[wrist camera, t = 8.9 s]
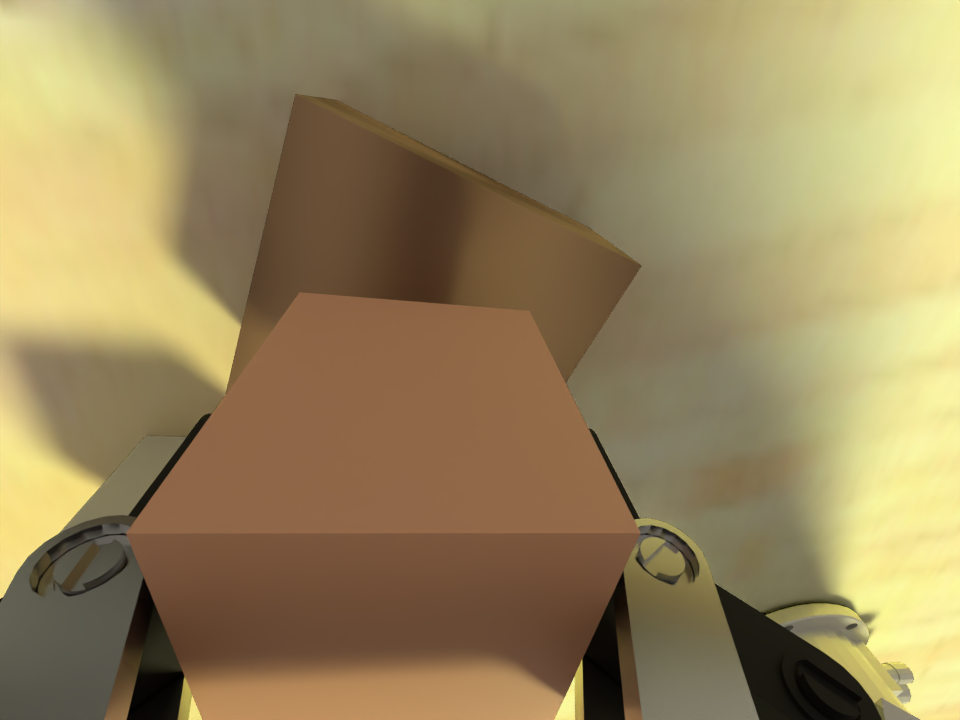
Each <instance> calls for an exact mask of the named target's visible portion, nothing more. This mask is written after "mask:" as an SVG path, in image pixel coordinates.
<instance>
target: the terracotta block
mask: <svg viewBox="0 0 960 720" xmlns="http://www.w3.org/2000/svg"><path fill="white" fill-rule="evenodd" d="M640 534H641V532H640V530H639V528H638V526H637V524H636V522H635V520H634V518H633V516H632V514H631V513H630V511H629V509H628V507H627V505H626V503H625V501H624V499H623V497H622V495H621V493H620V491H619V489H618V487H617V485H616V483H615V481H614V479H613V477H612V475H611V473H610V471H609V469H608V467H607V465H606V463H605V461H604V459H603V457H602V455H601V453H600V451H599V449H598V447H597V445H596V443H595V441H594V439H593V437H592V435H591V433H590V431H589V429H588V427H587V425H586V423H585V421H584V419H583V417H582V415H581V413H580V411H579V409H578V407H577V405H576V403H575V401H574V399H573V397H572V395H571V393H570V391H569V389H568V387H567V385H566V383H565V381H564V379H563V377H562V375H561V373H560V371H559V369H558V367H557V365H556V363H555V361H554V359H553V357H552V355H551V353H550V351H549V349H548V347H547V345H546V343H545V341H544V339H543V337H542V335H541V333H540V331H539V329H538V327H537V325H536V323H535V321H534V319H533V317H532V315H531V313H530V311H526V310H513V309H501V308H488V307H476V306H464V305H451V304H439V303H426V302H414V301H401V300H389V299H376V298H364V297H351V296H339V295H327V294H314V293H302V292H299V294H298V295H297V297H296V298H295V299H294V301H293V302H292V304H291V305H290V306H289V308H288V309H287V311H286V312H285V313H284V315H283V316H282V317H281V319H280V320H279V322H278V323H277V324H276V326H275V327H274V329H273V330H272V331H271V333H270V334H269V336H268V337H267V338H266V340H265V341H264V342H263V344H262V345H261V347H260V348H259V349H258V351H257V352H256V354H255V355H254V356H253V358H252V359H251V360H250V362H249V363H248V365H247V366H246V367H245V369H244V370H243V372H242V373H241V374H240V376H239V377H238V379H237V380H236V381H235V383H234V384H233V385H232V387H231V388H230V390H229V391H228V392H227V394H226V395H225V397H224V398H223V399H222V401H221V402H220V404H219V405H218V406H217V408H216V409H215V410H214V412H213V413H212V415H211V416H210V417H209V419H208V420H207V422H206V423H205V424H204V426H203V427H202V429H201V430H200V431H199V433H198V434H197V435H196V437H195V438H194V440H193V441H192V442H191V444H190V445H189V447H188V448H187V449H186V451H185V452H184V453H183V455H182V456H181V458H180V459H179V460H178V462H177V463H176V465H175V466H174V467H173V469H172V470H171V472H170V473H169V474H168V476H167V477H166V478H165V480H164V481H163V483H162V484H161V485H160V487H159V488H158V490H157V491H156V492H155V494H154V495H153V497H152V498H151V499H150V501H149V502H148V503H147V505H146V506H145V508H144V509H143V510H142V512H141V513H140V515H139V516H138V517H137V519H136V520H135V522H134V523H133V524H132V526H131V527H130V528H129V530H128V531H127V533H126V535H127V538H128V540H129V542H130V545H131V547H132V550H133V552H134V555H135V557H136V559H137V562H138V564H139V567H140V569H141V572H142V574H143V576H144V579H145V581H146V584H147V586H148V589H149V591H150V593H151V596H152V598H153V601H154V603H155V606H156V608H157V610H158V613H159V615H160V618H161V620H162V622H163V625H164V627H165V630H166V632H167V635H168V637H169V639H170V642H171V644H172V647H173V649H174V652H175V654H176V656H177V659H178V661H179V664H180V666H181V669H182V671H183V673H184V676H185V678H186V681H187V683H188V686H189V688H190V690H191V693H192V695H193V698H194V700H195V703H196V705H197V707H198V710H199V712H200V715H201V717H202V720H554V719H555V717H556V715H557V712H558V710H559V708H560V706H561V704H562V702H563V700H564V697H565V695H566V693H567V691H568V689H569V687H570V684H571V682H572V680H573V678H574V676H575V674H576V672H577V669H578V667H579V665H580V663H581V661H582V659H583V657H584V654H585V652H586V650H587V648H588V646H589V644H590V641H591V639H592V637H593V635H594V633H595V631H596V629H597V626H598V624H599V622H600V620H601V618H602V616H603V613H604V611H605V609H606V607H607V605H608V603H609V601H610V598H611V596H612V594H613V592H614V590H615V588H616V585H617V583H618V581H619V579H620V577H621V575H622V573H623V570H624V568H625V566H626V564H627V562H628V560H629V557H630V555H631V553H632V551H633V549H634V547H635V545H636V542H637V540H638V538H639V536H640Z"/></svg>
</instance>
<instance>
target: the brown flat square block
mask: <svg viewBox="0 0 960 720" xmlns="http://www.w3.org/2000/svg"><path fill="white" fill-rule="evenodd" d="M640 268H641V265H640V264H639V263H637V262H636V261H634V260H633V259H632V258H630V257H629V256H628V255H626V254H625V253H623V252H622V251H621V250H619V249H618V248H616V247H615V246H614V245H612V244H611V243H610V242H608V241H607V240H605V239H604V238H603V237H601V236H600V235H599V234H597V233H596V232H594V231H593V230H592V229H590V228H588V227H586V226H584V225H582V224H580V223H578V222H576V221H574V220H572V219H570V218H568V217H566V216H564V215H562V214H560V213H558V212H556V211H554V210H552V209H550V208H548V207H547V206H545V205H543V204H541V203H539V202H537V201H535V200H533V199H531V198H529V197H527V196H525V195H523V194H521V193H519V192H517V191H515V190H513V189H511V188H509V187H507V186H505V185H503V184H501V183H499V182H497V181H495V180H493V179H491V178H489V177H487V176H485V175H483V174H481V173H479V172H477V171H475V170H473V169H471V168H469V167H467V166H465V165H463V164H461V163H459V162H457V161H455V160H453V159H451V158H449V157H447V156H445V155H444V154H442V153H440V152H438V151H436V150H434V149H432V148H430V147H428V146H426V145H424V144H422V143H420V142H418V141H416V140H414V139H412V138H410V137H408V136H406V135H404V134H402V133H400V132H398V131H396V130H394V129H392V128H390V127H388V126H386V125H384V124H382V123H380V122H378V121H376V120H374V119H372V118H370V117H368V116H366V115H364V114H362V113H360V112H358V111H356V110H354V109H352V108H350V107H348V106H346V105H344V104H342V103H341V102H339V101H337V100H331V99H325V98H318V97H311V96H304V95H297V94H295V98H294V103H293V107H292V111H291V115H290V120H289V124H288V128H287V133H286V137H285V141H284V145H283V150H282V154H281V158H280V163H279V167H278V171H277V176H276V180H275V184H274V188H273V193H272V197H271V201H270V206H269V210H268V214H267V218H266V223H265V227H264V231H263V236H262V240H261V244H260V248H259V253H258V257H257V261H256V266H255V270H254V274H253V279H252V283H251V287H250V291H249V296H248V300H247V304H246V309H245V313H244V317H243V321H242V326H241V330H240V334H239V339H238V343H237V347H236V351H235V356H234V360H233V364H232V369H231V373H230V377H229V382H228V386H227V390H226V394H227V392H228V391H229V390H230V388H231V387H232V385H233V384H234V383H235V381H236V380H237V379H238V377H239V376H240V374H241V373H242V372H243V370H244V369H245V367H246V366H247V365H248V363H249V362H250V360H251V359H252V358H253V356H254V355H255V354H256V352H257V351H258V349H259V348H260V347H261V345H262V344H263V342H264V341H265V340H266V338H267V337H268V336H269V334H270V333H271V331H272V330H273V329H274V327H275V326H276V324H277V323H278V322H279V320H280V319H281V317H282V316H283V315H284V313H285V312H286V311H287V309H288V308H289V306H290V305H291V304H292V302H293V301H294V299H295V298H296V297H297V295H298V294H299V292H302V293H314V294H327V295H339V296H351V297H364V298H376V299H389V300H401V301H414V302H426V303H439V304H451V305H464V306H476V307H488V308H501V309H513V310H526V311H530V313H531V315H532V317H533V319H534V321H535V323H536V325H537V327H538V329H539V331H540V333H541V335H542V337H543V339H544V341H545V343H546V345H547V347H548V349H549V351H550V353H551V355H552V357H553V359H554V361H555V363H556V365H557V367H558V369H559V371H560V373H561V375H562V377H563V379H564V381H565V383H566V381H567V380H568V378H569V377H570V375H571V374H572V372H573V370H574V369H575V367H576V366H577V364H578V363H579V361H580V360H581V358H582V357H583V355H584V354H585V352H586V351H587V349H588V347H589V346H590V344H591V343H592V341H593V340H594V338H595V337H596V335H597V334H598V332H599V331H600V329H601V327H602V326H603V324H604V323H605V321H606V320H607V318H608V317H609V315H610V314H611V312H612V311H613V309H614V307H615V306H616V304H617V303H618V301H619V300H620V298H621V297H622V295H623V294H624V292H625V291H626V289H627V287H628V286H629V284H630V283H631V281H632V280H633V278H634V277H635V275H636V274H637V272H638V271H639V269H640ZM226 394H225V395H226Z"/></svg>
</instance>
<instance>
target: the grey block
mask: <svg viewBox="0 0 960 720" xmlns="http://www.w3.org/2000/svg"><path fill="white" fill-rule="evenodd" d="M185 439H186V437H178V436H150V435H146V436H145V437H144V438H143V440H142V441H141V442H140V443H139V444H138V445H137V446H136V447H135V449H134V450H133V451H132V452H131V453H130V454H129V455H128V456H127V458H126V459H125V460H124V461H123V462H122V463H121V464H120V465H119V467H118V468H117V469H116V470H115V471H114V472H113V473H112V474H111V476H110V477H109V478H108V479H107V480H106V481H105V482H104V483H103V485H102V486H101V487H100V488H99V489H98V490H97V491H96V492H95V494H94V495H93V496H92V497H91V498H90V499H89V500H88V501H87V503H86V504H85V505H84V506H83V507H82V508H81V509H80V510H79V512H78V513H77V514H76V515H75V516H74V517H73V518H72V519H71V521H70V522H69V523H68V524H67V525H66V526H65V527H64V528H63V530H62V531H64V530H66V529H69V528H71V527H73V526H76V525H78V524H80V523H82V522H85V521H89V520H92V519H96V518H100V517H104V516H115V515H126V516H128V515H129V514H130V512H131V511H132V509H133V508H134V507H135V505H136V504H137V503H138V501H139V500H140V499H141V497H142V496H143V495H144V493H145V492H146V491H147V489H148V488H149V487H150V485H151V484H152V483H153V481H154V480H155V479H156V477H157V476H158V475H159V473H160V472H161V471H162V469H163V468H164V467H165V465H166V464H167V463H168V461H169V460H170V459H171V457H172V456H173V455H174V453H175V452H176V451H177V449H178V448H179V447H180V445H181V444H182V443H183V441H184V440H185ZM62 531H61V532H62ZM61 532H60V533H61Z"/></svg>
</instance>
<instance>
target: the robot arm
mask: <svg viewBox="0 0 960 720" xmlns="http://www.w3.org/2000/svg"><path fill="white" fill-rule="evenodd" d="M211 415H212V414H206V415H204V416H203V417H202V418H201V419H200V420H199V421H198V423H197V424H196V425H195V427H194V428H193V429H192V431H191V432H190V433H189V435H188V436H187V437H186V439H185V440H184V441H183V443H182V444H181V445H180V447H179V448H178V449H177V451H176V452H175V453H174V455H173V456H172V457H171V459H170V460H169V461H168V463H167V464H166V465H165V467H164V468H163V469H162V471H161V472H160V473H159V475H158V476H157V477H156V479H155V480H154V481H153V483H152V484H151V485H150V487H149V488H148V489H147V491H146V492H145V493H144V495H143V496H142V497H141V499H140V500H139V501H138V503H137V504H136V505H135V507H134V508H133V509H132V511H131V512H130V514H129V515H128V516H126V515H115V516H104V517H100V518H96V519H92V520H89V521H85V522H82V523H80V524H78V525H76V526H73V527H71V528H69V529H66V530H64V531H62V532H61V533H59V534H58V535H56V536H54V537H53V538H51V539H49V540H48V541H46V542H45V543H43V544H42V545H41V546H40V547H39V548H38V549H37V550H35V551H34V552H33V553H32V554H31V555H30V556H29V557H28V558H27V559H26V560H25V562H24V563H23V565H22V566H21V567H20V569H19V570H18V571H17V573H16V575H15V576H14V578H13V580H12V582H11V584H10V586H9V588H8V589H7V591H6V593H5V595H4V597H3V598H1V599H0V720H188V718H189V711H190V704H191V697H192V693H191V690H190V688H189V686H188V683H187V681H186V678H185V676H184V673H183V671H182V669H181V666H180V664H179V661H178V659H177V656H176V654H175V652H174V649H173V647H172V644H171V642H170V639H169V637H168V635H167V632H166V630H165V627H164V625H163V622H162V620H161V618H160V615H159V613H158V610H157V608H156V606H155V603H154V601H153V598H152V596H151V593H150V591H149V589H148V586H147V584H146V581H145V579H144V576H143V574H142V572H141V569H140V567H139V564H138V562H137V559H136V557H135V555H134V552H133V550H132V547H131V545H130V542H129V540H128V538H127V535H126V533H127V531H128V530H129V528H130V527H131V526H132V524H133V523H134V522H135V520H136V519H137V517H138V516H139V515H140V513H141V512H142V510H143V509H144V508H145V506H146V505H147V503H148V502H149V501H150V499H151V498H152V497H153V495H154V494H155V492H156V491H157V490H158V488H159V487H160V485H161V484H162V483H163V481H164V480H165V478H166V477H167V476H168V474H169V473H170V472H171V470H172V469H173V467H174V466H175V465H176V463H177V462H178V460H179V459H180V458H181V456H182V455H183V453H184V452H185V451H186V449H187V448H188V447H189V445H190V444H191V442H192V441H193V440H194V438H195V437H196V435H197V434H198V433H199V431H200V430H201V429H202V427H203V426H204V424H205V423H206V422H207V420H208V419H209V417H210V416H211ZM588 429H589V428H588ZM589 431H590V433H591V435H592V437H593V439H594V441H595V443H596V445H597V447H598V449H599V451H600V453H601V455H602V457H603V459H604V461H605V463H606V465H607V467H608V469H609V471H610V473H611V475H612V477H613V479H614V481H615V483H616V485H617V487H618V489H619V491H620V493H621V495H622V497H623V499H624V501H625V503H626V505H627V507H628V509H629V511H630V513H631V514H632V516H633V518H634V520H635V522H636V524H637V526H638V528H639V530H640V532H641V534H640V536H639V538H638V540H637V542H636V545H635V547H634V549H633V551H632V553H631V555H630V557H629V560H628V562H627V564H626V566H625V568H624V570H623V573H622V575H621V577H620V579H619V581H618V583H617V585H616V588H615V590H614V592H613V594H612V596H611V598H610V601H609V603H608V605H607V607H606V609H605V611H604V613H603V616H602V618H601V620H600V622H599V624H598V626H597V629H596V631H595V633H594V635H593V637H592V639H591V641H590V644H589V646H588V648H587V650H586V652H585V654H584V657H583V659H582V661H581V663H580V665H579V667H578V669H577V672H576V674H575V720H920V719H918V718H916V717H915V716H913V715H911V714H910V713H909V712H908V711H907V709H906V708H905V707H904V706H903V703H907V702H910V699H911V694H910V690H909V688H908V687H907V685H906V684H909V683H912V682H913V680H914V677H913V673H912V672H911V670H910V669H909V668H908V667H907V666H906V665H905V664H903V663H900V662H891V663H883V664H881V663H880V662H879V661H878V660H877V659H876V657H875V656H874V655H873V654H872V652H871V651H870V650H869V649H868V648H867V646H866V644H867V642H868V637H869V631H868V628H867V626H866V624H865V623H864V622H863V621H862V620H861V619H860V617H859V616H858V615H857V614H856V613H855V612H854V611H852V610H851V609H849V608H847V607H844V606H841V605H837V604H829V603H812V604H805V605H797V606H793V607H789V608H785V609H781V610H778V611H775V612H772V613H769V614H766V615H764V614H762V613H761V612H759V611H757V610H756V609H754V608H753V607H751V606H749V605H748V604H746V603H745V602H743V601H742V600H740V599H738V598H737V597H735V596H734V595H732V594H730V593H729V592H727V591H726V590H724V589H722V588H721V587H719V586H718V585H716V584H715V583H714V580H713V577H712V574H711V571H710V568H709V565H708V562H707V560H706V558H705V556H704V554H703V552H702V551H701V550H700V548H699V547H698V546H697V545H696V544H695V542H694V541H693V540H692V539H691V538H689V537H688V536H687V535H686V534H685V533H683V532H682V531H681V530H679V529H677V528H675V527H674V526H672V525H670V524H668V523H665V522H662V521H659V520H656V519H649V518H641V519H640V518H639V516H638V514H637V512H636V511H635V509H634V507H633V505H632V503H631V501H630V499H629V497H628V495H627V493H626V491H625V489H624V487H623V485H622V483H621V482H620V480H619V478H618V476H617V474H616V472H615V470H614V468H613V466H612V464H611V462H610V460H609V458H608V456H607V454H606V452H605V451H604V449H603V447H602V445H601V443H600V441H599V439H598V437H597V435H596V434H595V432H594V431H593V430H592V429H589Z"/></svg>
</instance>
